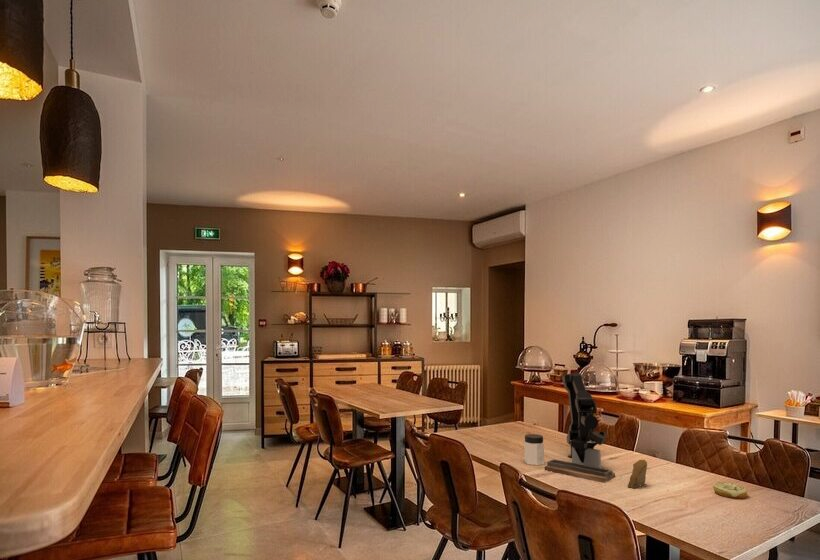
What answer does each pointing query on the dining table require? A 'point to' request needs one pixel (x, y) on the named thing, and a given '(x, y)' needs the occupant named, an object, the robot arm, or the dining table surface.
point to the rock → (638, 474)
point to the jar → (534, 449)
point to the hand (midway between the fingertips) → (586, 460)
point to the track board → (579, 470)
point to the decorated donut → (730, 490)
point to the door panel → (588, 458)
